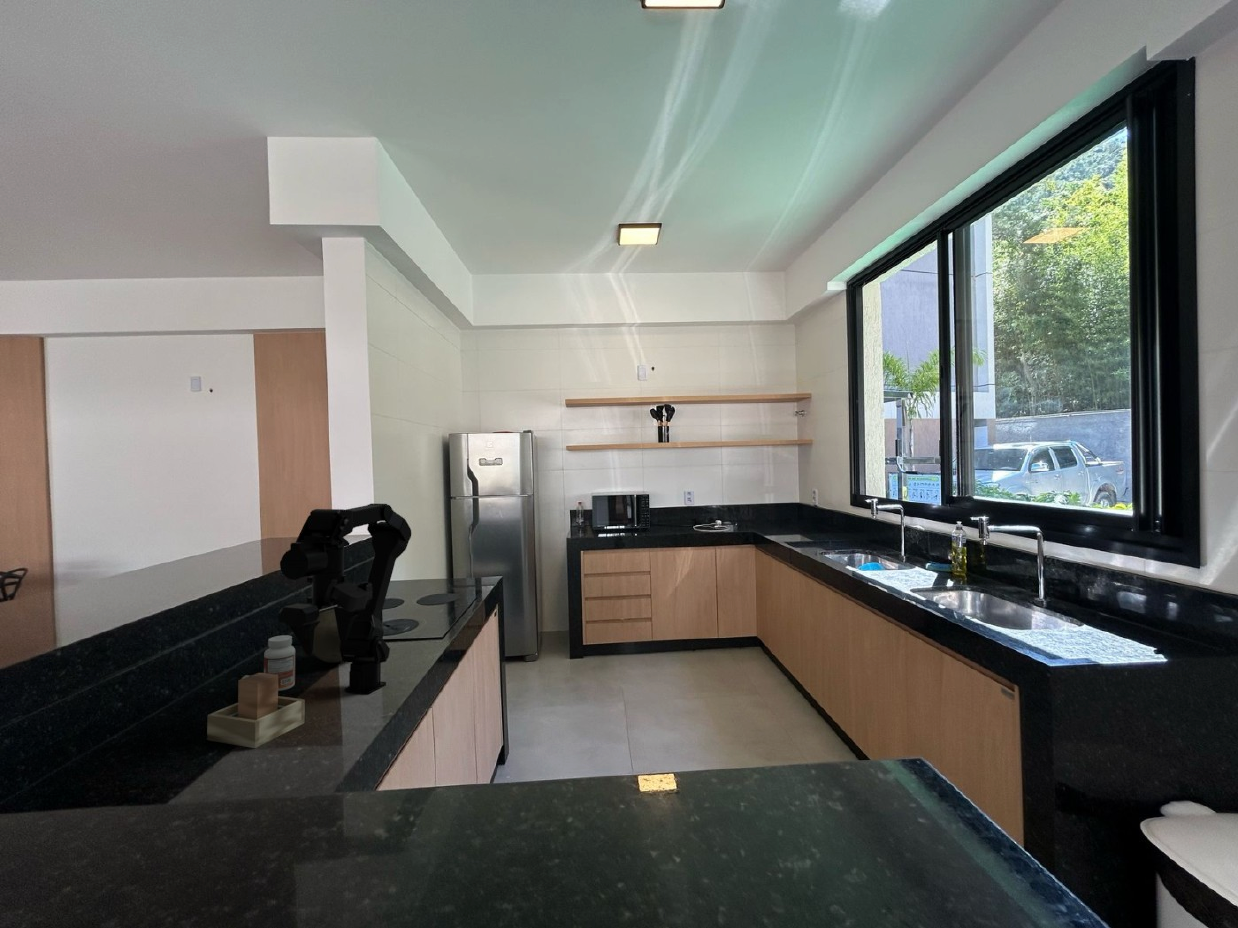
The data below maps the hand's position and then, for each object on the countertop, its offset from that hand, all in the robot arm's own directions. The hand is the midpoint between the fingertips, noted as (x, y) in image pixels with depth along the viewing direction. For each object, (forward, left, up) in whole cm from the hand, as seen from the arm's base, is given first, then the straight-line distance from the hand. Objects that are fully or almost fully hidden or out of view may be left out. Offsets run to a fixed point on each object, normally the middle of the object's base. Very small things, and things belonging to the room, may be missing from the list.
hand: (326, 648), depth 119 cm
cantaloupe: (-27, -21, -13) cm, 37 cm away
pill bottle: (-9, -21, -13) cm, 26 cm away
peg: (+10, -6, -12) cm, 17 cm away
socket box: (+10, -6, -13) cm, 18 cm away
